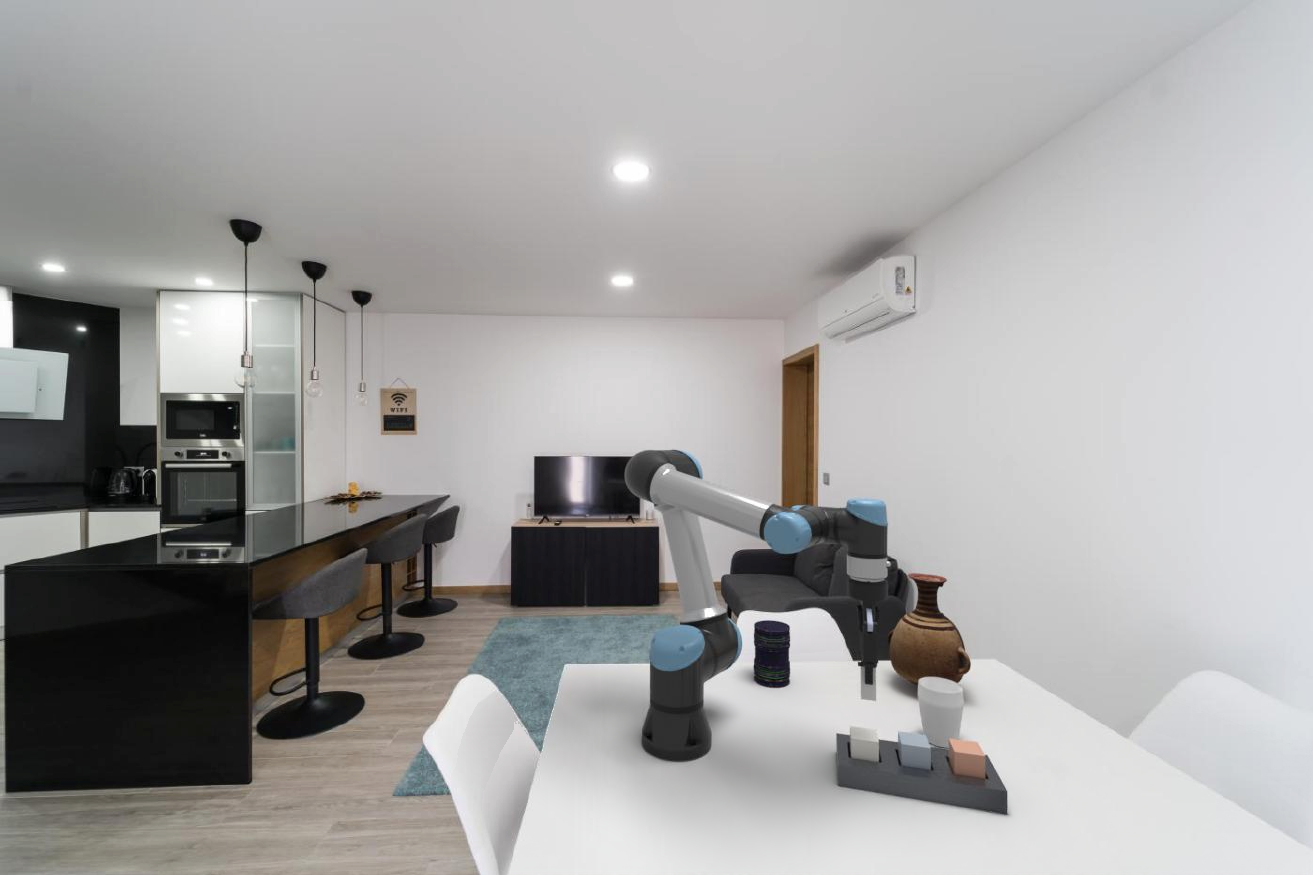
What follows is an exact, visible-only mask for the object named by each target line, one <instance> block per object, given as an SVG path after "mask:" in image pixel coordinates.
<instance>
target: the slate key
mask: <svg viewBox="0 0 1313 875" xmlns="http://www.w3.org/2000/svg"><path fill="white" fill-rule="evenodd" d="M897 742H898V758H899V762H900V766H906V767H912V768H919V769H925V770H931V748H930V747H931V745H930V743H929V742H928V740H927V737H926V735H924V734H923V733H922V734H921V733H915V732H907V731H906V732H905V731H901V730H900V731H899V730H898V731H897Z"/></svg>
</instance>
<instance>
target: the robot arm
mask: <svg viewBox="0 0 1313 875" xmlns="http://www.w3.org/2000/svg"><path fill="white" fill-rule="evenodd" d="M703 476H704V475H703V469H702V465H701V464H700V462H699V461H698V459H697V458H696V457H695V455H692V454H691V453H689V452H687V451H685V450H681V449H680V450H679V449H659V450H658V449H657V450H656V449H645V450H642V451H639V452H637V453H635V454H634V455H632V457H630V459H629V460H628V462H627V464H626V466H625V469H624V481H625V485H626V486H627V489H628V490H629V491H630V492H631V493H632V494H633V495H634V496H635V497H637V498H639V499H641V500H644V501H646V502H650V503H652V504H653V507H654V509H655V510H657V511H658V512H660V514H661V515H662V520H663V525H664V528H665V532H666V533H665V534H666V538H667V542H668V546H669V547H668V548H669V550H670V552H669V553H670V556H671V560H672V566H673V569H674V570H673V571H674V574H675V578H676V584H677V589H678V592H679V597H680V602H681V606H682V610H683V611H682V614H681V616H680V617H679V619H678V622H679V624H676V625H674V626H666V627H664V628H661V629H659V630H658V631H657V632H655V633H654V635H653V636H652V638H651V640H650V650H649V653H648V655H649V656H648V657H649V708H648V710H647V713H646V716H645V719H644V723H643V726H642V729H641V746H642V748H643V749H644V751H645V752H647V753H648V754H649V755H651V756H652V757H655V758H658V759H660V760H663V761H665V760H666V761H672V762H673V761H674V762H685V761H691V760H695V759H698V758H701V757H703V756H705V755H706V754H708V752H709V751H710V750H711V748H712V746H713V745H712V743H713V741H712V738H713V737H712V736H713V735H712V729H711V726H710V723H709V720H708V717H707V714H706V710H705V705H704V703H705V702H704V695H705V694H704V693H705V692H704V691H705V690H704V685H705V683H706V682H708V681H710V680H711V679H713V678H715V677H716V676H717V675H719V674H721V673H722V672H725V671H727V670H729V669H730V667H732V666H733V665H734V663H736V662H737V660H738V659H739V657H740V655H741V653H742V649H743V637H742V633H741V631H740V629H739V627H738V625H737V624H736V623H734V622H733V620H732V619H731V618H729V615H728V612H727V609H726V608H725V607H723V606H722V605H721V604H720V603H719V600H718V598H717V591H716V588H715V584H714V579H713V575H712V571H711V566H710V561H709V558H708V554H707V548H706V545H705V540H704V537H703V536H704V535H703V532H702V528H701V524H700V520H699V517H701V518H704V519H707V520H709V521H712V522H714V523H716V524H720V525H722V526H724V527H728V528H729V529H732V530H735V531H738V532H740V533H743V534H746V535H747V536H751V537H753V538H754V539H755V538H756V539H758V540H762V541H764V542H765V543H766V545H768V546H769V548H770V549H772V550H773V551H774V552H776V553H778V554H782V555H783V554H784V555H788V554H789V555H791V554H796V553H799V552H802V551H803V550H805V549H808V548H810V547H813V546H816V545H818V544H829V545H839V546H846V549H847V550H846V574H847V575H848V577H847V582H846V584H847V585H846V586H847V590H846V591H847V592H846V593H847V596H848V597H849V598H851V599H853V600H857V601H858V600H859V601H860V604H856V614H857V625H858V629H859V630H858V631H859V654H860V660H859V661H857V666H858V667H860V699H861V700H865V701H873V702H876V701H877V680H876V679H877V668H878V664H879V659H878V657H877V656H878V653H877V652H878V649H877V646H878V631H879V619H880V609H879V608H878V607H879V606H877V605H875V603H877V602H885V601H887V600H888V597H889V582H888V580H887V579H886V578H887V577H888V576H889V575H888V574H889V573H888V568H889V567H891V566H892V563H891V561H888V526H889V522H888V514H887V513H888V512H887V505H886V503H885V501H883V500H881V499H876V498H860V497H859V498H850V499H847V500H846V505H845V507H833V506H831V507H830V506H829V507H828V506H817V505H814V506H813V505H811V504H804V505H794V506H792V507H791V508H788V507H785V506H781V505H779V504H776V503H773V502H770V501H767V500H764V499H761V498H758V497H755V496H752V495H749V494H748V493H747V494H746V493H743V492H741V491H737V490H735V489H732V488H728V487H725V486H723V485H721V484H717V483H714V482H711V481H708V480H705V479H704V478H703Z"/></svg>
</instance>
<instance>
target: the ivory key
mask: <svg viewBox="0 0 1313 875" xmlns="http://www.w3.org/2000/svg"><path fill="white" fill-rule="evenodd" d="M849 735H850V757H851V758H854V759H861V760H867V761H874V762H879V740H878V739H879V736H878V735H879V734H878V732H877V729H874V728H867V727H862V726H861V727H860V726H855V725H854V726H853V725H849Z"/></svg>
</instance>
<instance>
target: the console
mask: <svg viewBox="0 0 1313 875" xmlns="http://www.w3.org/2000/svg"><path fill="white" fill-rule="evenodd" d="M835 734H836V737H835V738H836V740H835V741H836V750H835V751H836V768H837V785H838V787H842V788H848V789H849V788H850V789H853V790H854V789H855V790H859V791H866V792H872V793H878V794H884V795H890V796H896V797H902V798H907V799H908V798H909V799H913V800H918V801H920V800H921V801H926V802H932V803H938V804H943V805H949V806H953V807H954V806H956V807H960V808H967V809H973V810H979V811H984V812H990V813H995V814H1001V815H1002V814H1003V815H1009V814H1008V808H1009V807H1008V806H1009V805H1008V803H1009V802H1008V789H1007V788H1006V785H1005V784H1004V783H1003V780H1002V778H1000V775H999V773H998V772H997V770H996V768H995V767H994V764H993V763H992V761H991V759H990V757H989V756H988V754H984V755H985V779H983V778H977V777H970V776H964V775H957V774H952V771H951V769H950V766H949V748H943V747H937V746H936V747H934V746H930V748H931V770H925V769H919V768H912V767H906V766H900V762H899V758H898V741H893V740H887V739H879V738H878V740H879V762H874V761H867V760H861V759H854V758H851V757H850V734H845V733H844V734H843V733H835Z"/></svg>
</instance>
